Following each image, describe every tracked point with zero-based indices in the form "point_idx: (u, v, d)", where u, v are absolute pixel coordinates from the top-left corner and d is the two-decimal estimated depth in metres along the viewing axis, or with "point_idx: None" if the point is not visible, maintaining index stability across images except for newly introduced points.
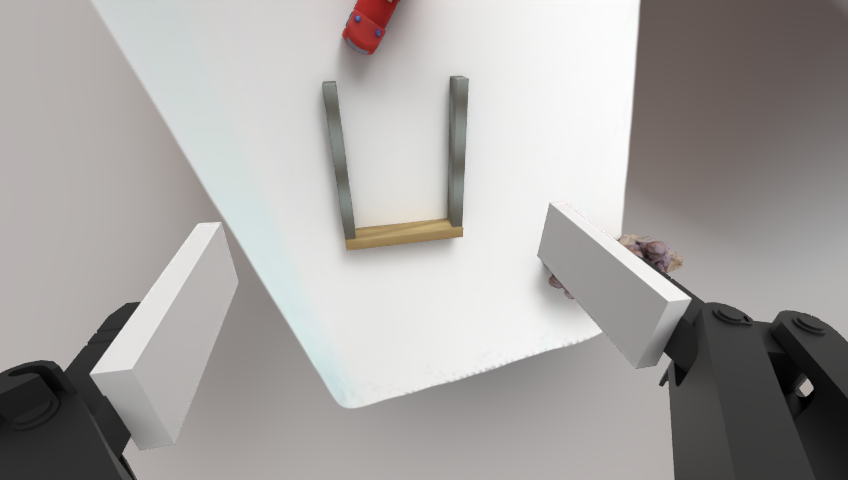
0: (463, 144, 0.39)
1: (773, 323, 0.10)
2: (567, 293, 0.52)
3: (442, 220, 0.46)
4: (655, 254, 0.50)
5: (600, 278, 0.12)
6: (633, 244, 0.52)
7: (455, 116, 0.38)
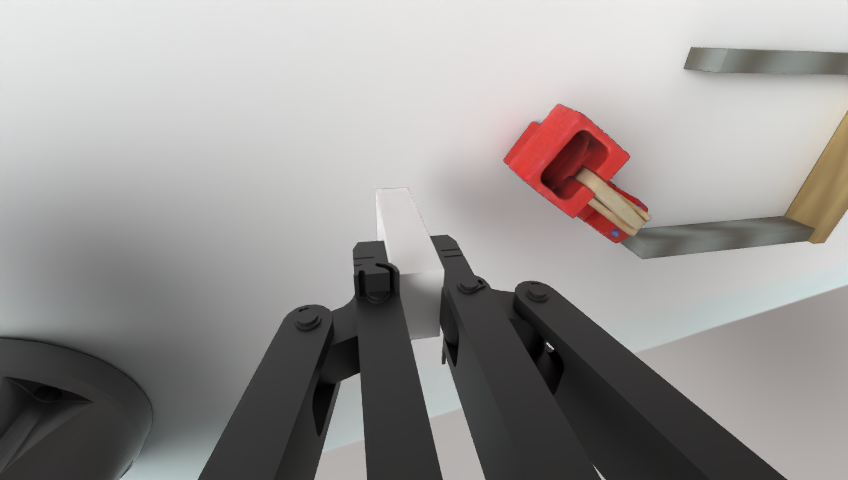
0: (812, 56, 0.22)
1: (514, 301, 0.10)
2: None
3: None
4: None
5: None
6: None
7: None
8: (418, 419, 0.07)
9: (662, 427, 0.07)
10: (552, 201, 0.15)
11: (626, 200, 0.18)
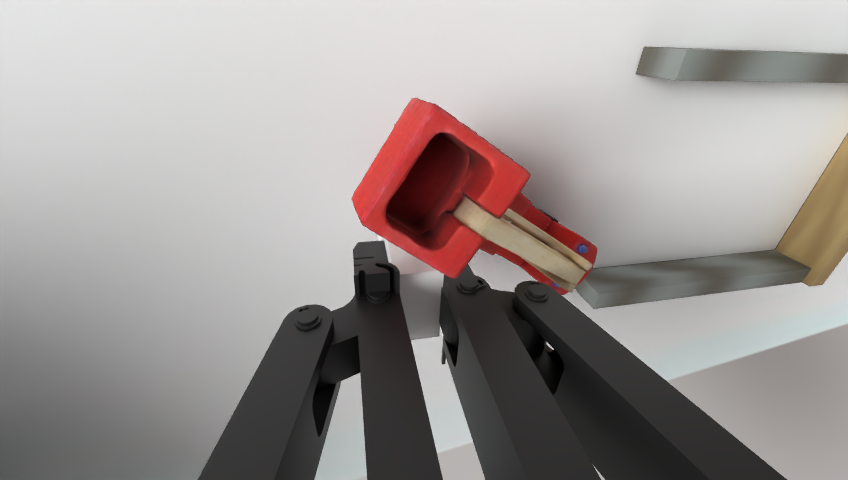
0: (804, 59, 0.17)
1: (514, 301, 0.10)
2: None
3: None
4: None
5: None
6: None
7: (740, 80, 0.17)
8: (418, 418, 0.07)
9: (662, 427, 0.07)
10: (413, 254, 0.09)
11: (554, 241, 0.13)
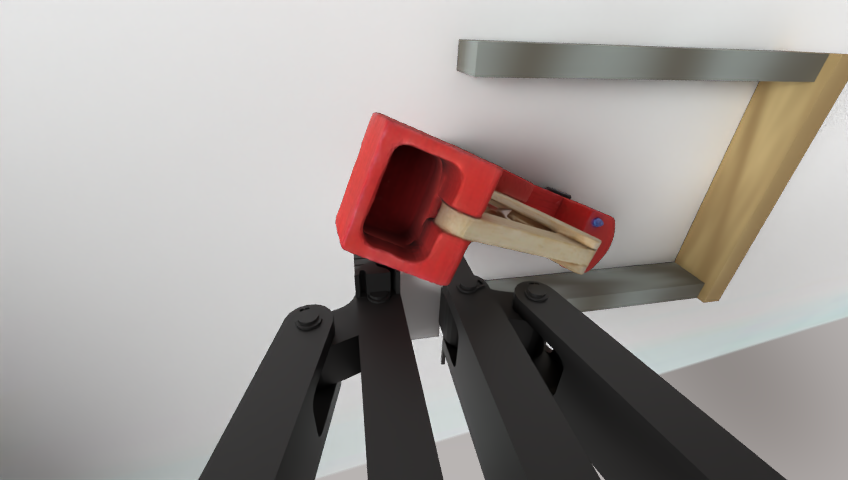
0: (632, 53, 0.15)
1: (513, 301, 0.10)
2: None
3: (760, 93, 0.19)
4: None
5: None
6: None
7: (559, 77, 0.15)
8: (419, 418, 0.07)
9: (661, 427, 0.07)
10: (398, 269, 0.09)
11: (556, 224, 0.12)
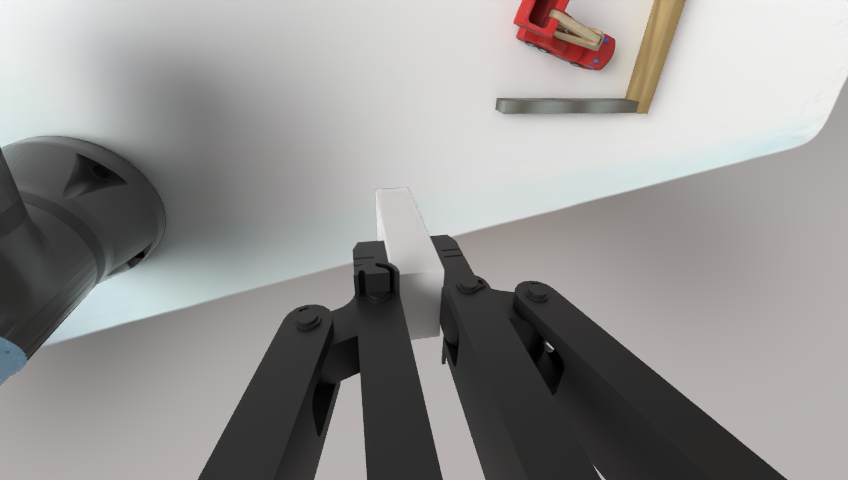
0: None
1: (514, 301, 0.10)
2: None
3: None
4: None
5: None
6: None
7: None
8: (418, 419, 0.07)
9: (662, 427, 0.07)
10: (538, 30, 0.30)
11: (587, 27, 0.32)
